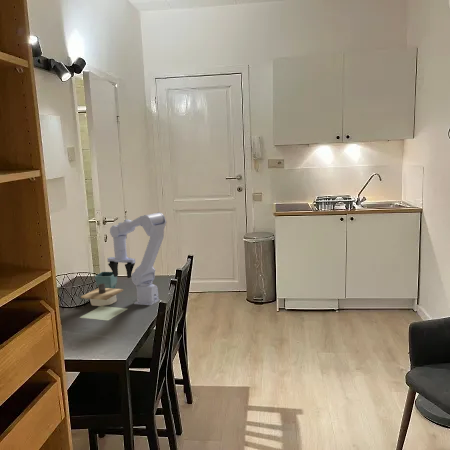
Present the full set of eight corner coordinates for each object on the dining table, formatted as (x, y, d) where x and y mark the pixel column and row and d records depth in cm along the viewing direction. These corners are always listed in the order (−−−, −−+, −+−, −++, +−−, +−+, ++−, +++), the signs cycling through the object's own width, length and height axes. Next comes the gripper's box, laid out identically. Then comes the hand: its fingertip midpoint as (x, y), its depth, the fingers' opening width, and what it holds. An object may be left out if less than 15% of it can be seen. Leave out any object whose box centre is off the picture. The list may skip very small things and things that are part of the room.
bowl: (121, 299, 230) (120, 291, 229) (106, 307, 219) (105, 298, 218) (101, 297, 234) (100, 289, 234) (85, 305, 224) (84, 297, 223)
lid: (123, 290, 229) (122, 281, 229) (106, 299, 217) (105, 289, 216) (99, 289, 235) (98, 279, 234) (80, 298, 222) (79, 288, 221)
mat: (128, 309, 215) (128, 308, 215) (108, 321, 201) (108, 320, 201) (100, 306, 220) (100, 306, 220) (79, 318, 207) (79, 317, 207)
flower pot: (112, 293, 241) (110, 276, 239) (96, 293, 242) (94, 276, 241) (119, 288, 249) (117, 271, 248) (103, 288, 251) (102, 271, 249)
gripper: (102, 250, 228) (105, 278, 230) (128, 252, 222) (130, 280, 224) (111, 247, 234) (113, 274, 236) (136, 248, 228) (138, 276, 231)
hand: (122, 276), depth 231 cm, fingers open, 7 cm apart
